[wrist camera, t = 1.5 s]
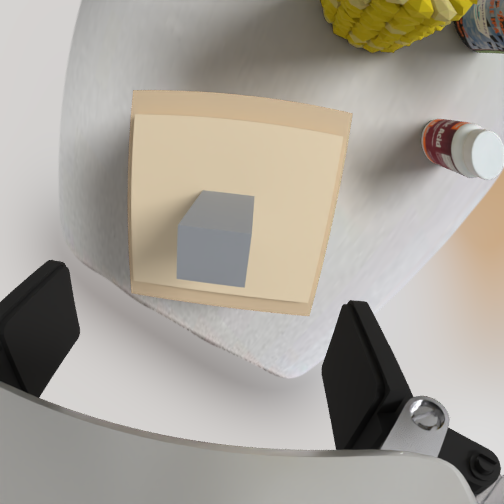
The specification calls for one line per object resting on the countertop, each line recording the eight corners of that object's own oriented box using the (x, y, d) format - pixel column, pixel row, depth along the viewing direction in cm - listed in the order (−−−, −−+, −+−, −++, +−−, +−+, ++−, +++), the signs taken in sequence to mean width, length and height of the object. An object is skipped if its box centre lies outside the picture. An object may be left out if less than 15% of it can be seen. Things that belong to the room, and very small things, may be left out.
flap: (137, 114, 17) (82, 117, 11) (341, 136, 17) (381, 148, 11) (136, 276, 21) (98, 334, 15) (307, 298, 21) (321, 365, 16)
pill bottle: (436, 108, 24) (487, 113, 17) (463, 141, 25) (515, 156, 18) (411, 142, 26) (458, 155, 18) (439, 174, 27) (488, 196, 19)
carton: (175, 97, 25) (132, 90, 16) (321, 113, 25) (353, 113, 16) (166, 241, 31) (131, 295, 22) (295, 257, 31) (309, 318, 22)
